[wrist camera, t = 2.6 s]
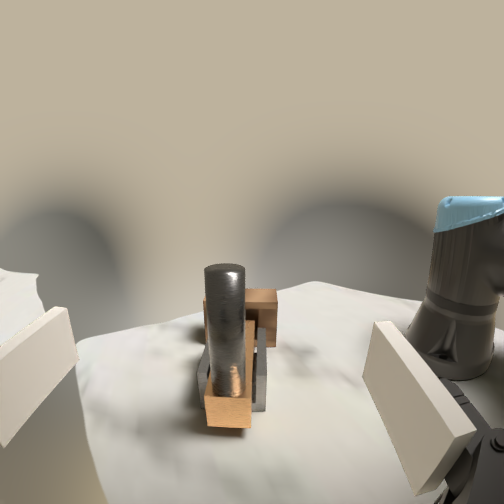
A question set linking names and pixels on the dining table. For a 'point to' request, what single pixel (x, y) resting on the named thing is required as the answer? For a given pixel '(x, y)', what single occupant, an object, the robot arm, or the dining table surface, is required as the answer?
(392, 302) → the dining table surface
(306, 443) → the dining table surface
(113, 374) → the dining table surface
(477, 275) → the robot arm
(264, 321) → the socket block
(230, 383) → the mallet
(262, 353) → the channel
